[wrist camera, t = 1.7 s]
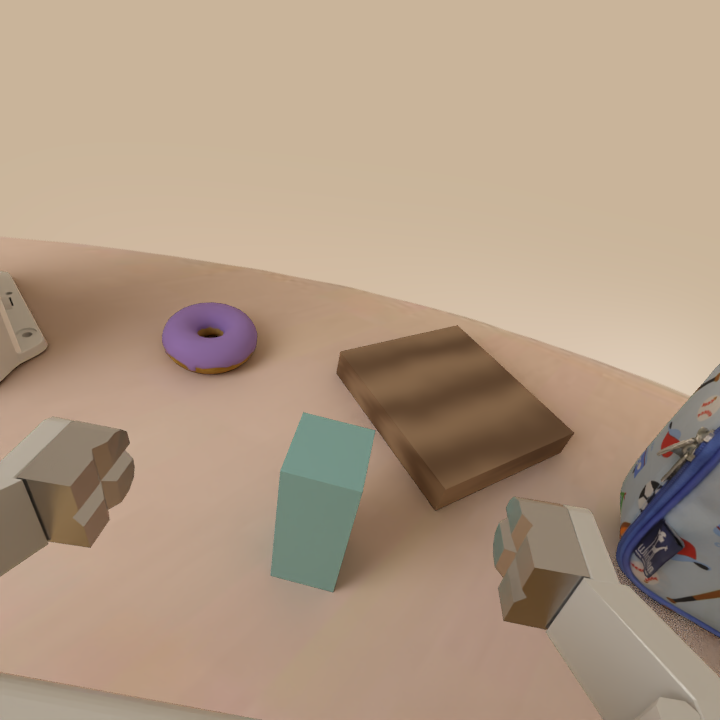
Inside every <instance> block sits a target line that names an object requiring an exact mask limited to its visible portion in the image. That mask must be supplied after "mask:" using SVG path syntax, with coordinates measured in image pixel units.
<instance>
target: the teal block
mask: <svg viewBox="0 0 720 720" xmlns="http://www.w3.org/2000/svg"><path fill="white" fill-rule="evenodd" d="M374 434H375V430H371V429H367V428H363V427H359V426H355V425H351V424H347V423H343V422H340V421H336V420H332V419H328V418H324V417H320V416H316V415H312V414H308V413H304V412H303V415H302V417H301V420H300V422H299V425H298V427H297V430H296V432H295V435H294V438H293V440H292V443H291V445H290V448H289V450H288V453H287V455H286V458H285V460H284V463H283V466H282V468H281V471H280V480H279V491H278V501H277V512H276V523H275V534H274V544H273V555H272V566H271V576H274V577H278V578H281V579H285V580H289V581H293V582H296V583H300V584H304V585H308V586H311V587H315V588H319V589H323V590H327V591H330V592H333V591H334V588H335V584H336V581H337V577H338V574H339V571H340V567H341V564H342V560H343V557H344V554H345V550H346V547H347V543H348V540H349V537H350V533H351V530H352V526H353V523H354V519H355V516H356V513H357V509H358V506H359V502H360V499H361V496H362V492H363V487H364V483H365V478H366V473H367V468H368V463H369V458H370V454H371V449H372V444H373V439H374Z"/></svg>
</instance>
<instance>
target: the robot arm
mask: <svg viewBox="0 0 720 720" xmlns="http://www.w3.org/2000/svg"><path fill="white" fill-rule="evenodd" d="M46 348H47V342H46V340H45V338H44V336H43V334H42V332H41V330H40V329H39V327H38V325H37V323H36V321H35V319H34V317H33V315H32V314H31V312H30V310H29V308H28V306H27V304H26V302H25V301H24V299H23V297H22V295H21V293H20V291H19V289H18V288H17V286H16V284H15V282H14V280H13V278H12V277H11V275H10V274H9V273H8V272H4V271H0V381H1V380H3V379H4V378H5V377H6V376H7V375H8V374H9V373H10V372H11V371H12V370H13V369H14V368H15V367H17V366H18V365H19V364H21V363H23V362H25V361H27V360H29V359H31V358H33V357H34V356H36V355H38V354H40V353H41V352H43V351H44V350H45V349H46ZM129 444H130V442H129V438H128V434H127V432H126V431H124V430H121V429H116V428H111V427H105V426H100V425H95V424H90V423H85V422H80V421H73V420H68V419H63V418H58V417H51V418H48V419H45V420H44V421H42V422H41V423H40V424H39V425H38V426H37V427H36V428H35V429H34V430H33V431H32V432H31V433H30V434H29V435H28V436H27V437H26V438H24V439H23V440H22V441H21V442H20V443H19V444H18V445H17V446H16V447H15V448H14V449H13V450H12V451H11V452H10V453H9V454H8V455H6V456H5V457H4V458H3V459H2V460H1V461H0V576H2V575H3V574H5V573H6V572H8V571H9V570H11V569H12V568H14V567H15V566H17V565H18V564H20V563H21V562H22V561H24V560H25V559H27V558H28V557H30V556H31V555H33V554H34V553H36V552H37V551H39V550H40V549H42V548H43V547H45V546H46V545H48V542H55V543H62V544H68V545H75V546H82V547H89V548H91V546H92V545H93V543H94V542H95V540H96V539H97V538H98V536H99V535H100V533H101V532H102V530H103V529H104V527H105V526H106V524H107V523H108V521H109V520H110V519H109V511H108V509H110V508H112V507H114V506H115V505H117V504H119V503H121V502H122V501H123V499H124V498H125V496H126V494H127V493H128V491H129V489H130V486H131V484H132V481H133V478H134V468H135V466H134V461H133V458H132V457H131V456H130V455H129V454H128V453H127V452H126V451H125V449H126V448H127V446H128V445H129ZM506 511H507V516H508V518H506V519H504V520H502V521H500V522H499V524H498V527H497V529H496V532H495V537H494V543H493V556H494V564H495V568H496V569H497V570H498V572H499V573H500V574H501V576H502V577H503V580H502V582H501V584H500V585H499V587H498V590H499V597H500V603H501V609H502V615H503V621H506V622H511V623H516V624H521V625H526V626H531V627H536V628H540V629H545V630H547V631H546V633H547V635H548V636H549V638H550V639H551V641H552V642H553V644H554V645H555V647H556V648H557V650H558V651H559V653H560V654H561V656H562V657H563V659H564V660H565V662H566V663H567V665H568V667H569V668H570V670H571V671H572V673H573V674H574V676H575V677H576V679H577V680H578V682H579V683H580V685H581V686H582V688H583V689H584V691H585V692H586V694H587V695H588V697H589V698H590V700H591V701H592V703H593V705H594V706H595V708H596V709H597V711H598V712H599V714H600V715H601V717H602V718H603V720H720V677H719V676H718V675H717V674H716V673H715V672H714V671H713V670H712V669H711V668H710V667H709V666H708V665H707V664H706V663H705V662H704V661H703V660H702V659H701V658H700V657H699V656H698V655H697V654H696V653H695V652H694V651H693V650H692V649H691V648H690V647H689V646H688V645H687V644H686V643H685V642H684V641H683V640H682V639H681V638H680V637H679V636H678V635H677V634H676V633H675V632H674V631H673V630H672V629H671V628H670V627H669V626H668V625H667V624H666V623H665V622H664V621H663V620H662V619H661V618H660V617H659V616H658V615H657V614H656V613H655V612H654V611H653V610H652V609H651V608H650V607H649V606H648V605H647V604H646V603H645V602H644V601H643V600H642V599H641V598H640V597H639V596H638V595H637V594H636V593H635V592H634V591H633V590H632V589H631V588H630V587H629V586H628V585H623V584H620V581H619V579H618V576H617V574H616V571H615V569H614V566H613V564H612V561H611V559H610V556H609V554H608V551H607V549H606V546H605V543H604V541H603V538H602V536H601V533H600V531H599V528H598V526H597V523H596V521H595V518H594V516H593V513H592V512H591V511H590V510H589V509H587V508H581V507H575V506H569V505H561V504H558V503H551V502H545V501H539V500H533V499H526V498H520V497H513V498H512V499H511V500H510V501H509V503H508V505H507V507H506ZM0 720H260V719H254V718H249V717H244V716H238V715H233V714H227V713H222V712H216V711H211V710H205V709H200V708H194V707H189V706H184V705H178V704H173V703H167V702H162V701H156V700H151V699H145V698H140V697H134V696H129V695H123V694H118V693H113V692H107V691H102V690H96V689H91V688H85V687H80V686H74V685H69V684H63V683H58V682H52V681H47V680H41V679H36V678H30V677H25V676H20V675H14V674H9V673H3V672H0Z"/></svg>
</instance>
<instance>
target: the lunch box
mask: <svg viewBox="0 0 720 720" xmlns="http://www.w3.org/2000/svg"><path fill="white" fill-rule="evenodd" d="M620 510H621V528H620V541H619V543H618V546H617V552H616V560H617V562H618V565H619V567H620V568H621V570H622V572H623V573H624V574H625V575H626V576H627V577H628V578H629V579H630V581H631V582H632V583H633V584H635V585H636V586H637V587H638V588H639V589H640V590H641V591H642V592H644V593H645V594H647V595H648V596H649V597H651V598H652V599H653V600H655V601H657V602H658V603H659V604H661V605H662V606H663V607H665V608H667V609H669V610H671V611H673V612H675V613H677V614H679V615H681V616H683V617H684V618H686V619H688V620H690V621H692V622H694V623H695V624H697V625H699V626H700V627H702V628H704V629H705V630H707V631H709V632H711V633H712V634H714V635H716V636H718V637H719V638H720V364H719V365H718V366H717V367H716V368H715V369H714V371H713V372H712V373H711V374H710V375H709V377H708V378H707V379H706V380H705V381H704V383H703V384H702V385H701V386H700V387H699V388H698V389H697V390H696V392H695V393H694V394H693V395H692V396H691V397H690V398H689V400H688V401H687V402H686V403H685V404H684V405H683V406H682V407H681V409H680V410H679V411H678V412H677V413H676V414H675V415H674V417H673V418H672V419H671V420H670V421H669V422H668V423H667V425H666V426H665V427H664V428H663V429H662V430H661V432H660V433H659V434H658V435H657V437H656V438H655V439H654V440H653V442H652V443H651V444H650V445H649V446H648V447H647V448H646V450H645V451H644V452H643V453H642V455H641V456H640V457H639V459H638V460H637V461H636V463H635V464H634V465H633V467H632V468H631V470H630V471H629V473H628V475H627V476H626V478H625V480H624V482H623V485H622V488H621V493H620Z"/></svg>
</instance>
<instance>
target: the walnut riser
mask: <svg viewBox="0 0 720 720" xmlns="http://www.w3.org/2000/svg"><path fill="white" fill-rule="evenodd" d="M337 375H338V376H339V377H340V379H341V380H342V381H343V383H344V384H345V386H346V387H347V388H348V390H349V391H350V393H351V394H352V395H353V397H354V398H355V400H356V401H357V402H358V404H359V405H360V406H361V408H362V409H363V411H364V412H365V413H366V415H367V416H368V418H369V419H370V420H371V422H372V423H373V425H374V426H375V427H376V429H377V430H378V432H379V433H380V434H381V436H382V437H383V438H384V440H385V441H386V443H387V444H388V445H389V447H390V448H391V450H392V451H393V452H394V454H395V455H396V457H397V458H398V459H399V461H400V462H401V463H402V465H403V466H404V468H405V469H406V470H407V472H408V473H409V475H410V476H411V477H412V479H413V480H414V482H415V483H416V484H417V486H418V487H419V489H420V490H421V491H422V493H423V494H424V495H425V497H426V498H427V500H428V501H429V502H430V504H431V505H432V507H433V508H434V509H435V510H438V509H440V508H442V507H444V506H446V505H448V504H451V503H453V502H455V501H457V500H459V499H461V498H463V497H466V496H468V495H470V494H472V493H474V492H476V491H479V490H481V489H483V488H485V487H487V486H489V485H492V484H494V483H496V482H498V481H500V480H502V479H505V478H507V477H509V476H511V475H513V474H515V473H517V472H520V471H522V470H524V469H526V468H528V467H530V466H533V465H535V464H537V463H539V462H541V461H543V460H546V459H548V458H550V457H552V456H554V455H556V454H559V453H560V452H561V451H562V449H563V448H564V447H565V445H566V444H567V442H568V441H569V439H570V438H571V437H572V435H573V434H574V432H573V431H572V430H570V429H569V428H568V427H567V426H566V425H565V424H564V423H563V422H562V421H561V420H560V419H558V418H557V417H556V416H555V415H554V414H553V413H552V412H551V411H550V410H549V409H548V408H547V407H545V406H544V405H543V404H542V403H541V402H540V401H539V400H538V399H537V398H536V397H535V396H534V395H532V394H531V393H530V392H529V391H528V390H527V389H526V388H525V387H524V386H523V385H522V384H521V383H519V382H518V381H517V380H516V379H515V378H514V377H513V376H512V375H511V374H510V373H509V372H507V371H506V370H505V369H504V368H503V367H502V366H501V365H500V364H499V363H498V362H497V361H496V360H494V359H493V358H492V357H491V356H490V355H489V354H488V353H487V352H486V351H485V350H484V349H483V348H481V347H480V346H479V345H478V344H477V343H476V342H475V341H474V340H473V339H472V338H471V337H469V336H468V335H467V334H466V333H465V332H464V331H463V330H462V329H461V328H460V327H459V326H458V325H457V326H453V327H448V328H444V329H439V330H435V331H430V332H426V333H421V334H417V335H413V336H408V337H404V338H399V339H395V340H390V341H386V342H381V343H377V344H372V345H368V346H363V347H359V348H355V349H350V350H346V351H341V352H340V357H339V362H338V368H337Z"/></svg>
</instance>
